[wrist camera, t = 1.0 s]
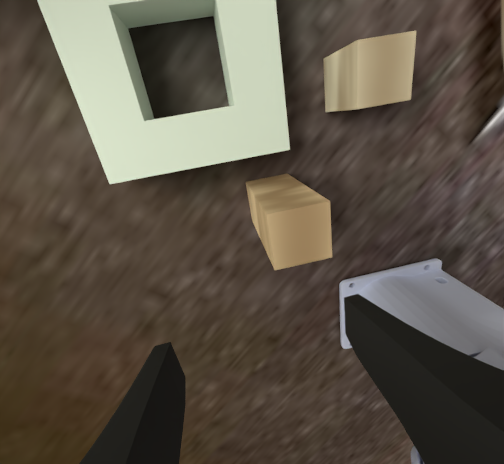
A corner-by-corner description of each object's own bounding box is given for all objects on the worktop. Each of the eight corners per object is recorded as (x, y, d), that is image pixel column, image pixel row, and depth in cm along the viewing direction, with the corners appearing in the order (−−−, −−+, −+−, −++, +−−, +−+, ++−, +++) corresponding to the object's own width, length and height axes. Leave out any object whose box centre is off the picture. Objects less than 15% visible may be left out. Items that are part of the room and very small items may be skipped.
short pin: (369, 51, 16) (416, 30, 12) (368, 104, 17) (410, 99, 14) (323, 58, 16) (357, 40, 12) (325, 112, 17) (357, 109, 13)
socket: (253, -57, 13) (265, -104, 11) (277, 145, 17) (290, 149, 15) (51, -32, 12) (7, -76, 10) (125, 173, 17) (109, 184, 14)
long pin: (287, 173, 18) (330, 201, 12) (291, 212, 19) (332, 257, 13) (245, 181, 18) (266, 214, 12) (252, 221, 19) (274, 270, 13)
